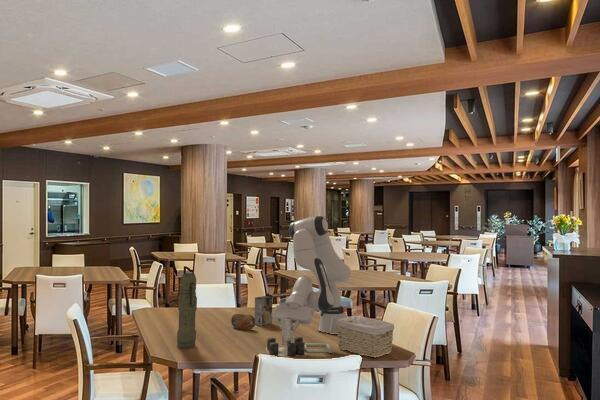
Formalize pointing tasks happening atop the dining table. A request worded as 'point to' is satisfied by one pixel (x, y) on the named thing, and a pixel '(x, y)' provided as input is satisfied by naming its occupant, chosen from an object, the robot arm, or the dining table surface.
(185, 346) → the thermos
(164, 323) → the dining table surface
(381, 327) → the storage basket
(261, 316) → the coffee box
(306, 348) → the tray
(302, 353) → the spacer board
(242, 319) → the tin
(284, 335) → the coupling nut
